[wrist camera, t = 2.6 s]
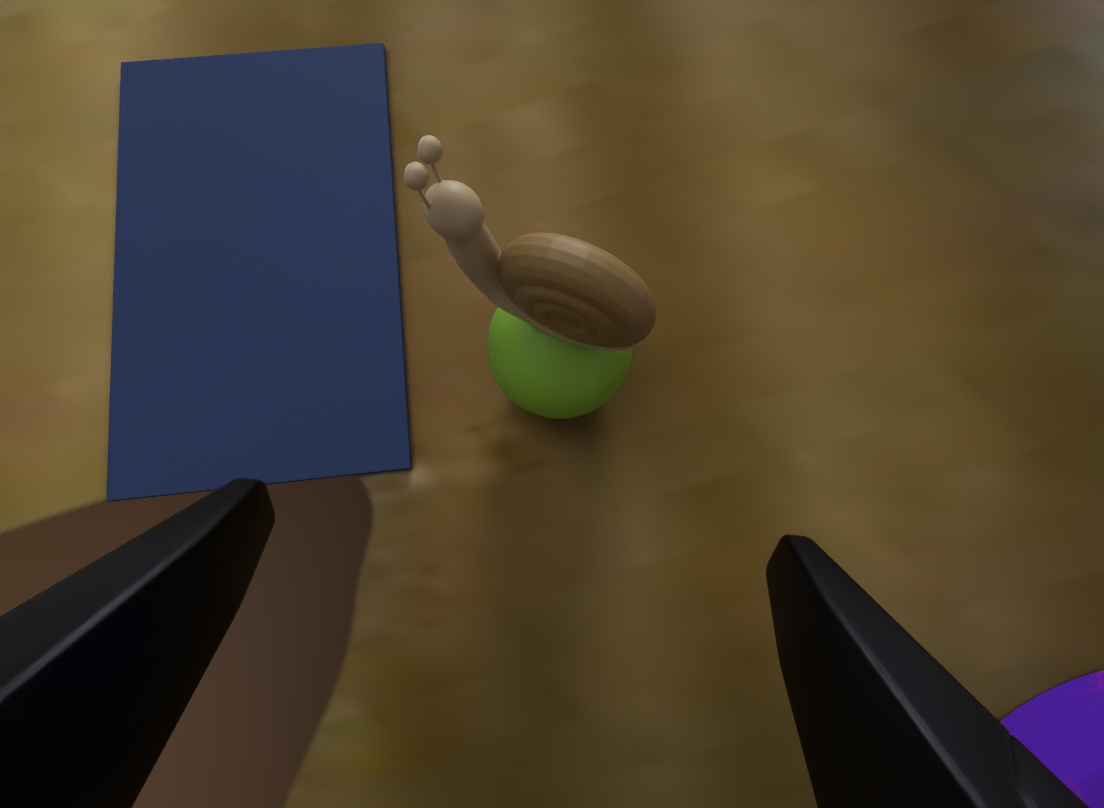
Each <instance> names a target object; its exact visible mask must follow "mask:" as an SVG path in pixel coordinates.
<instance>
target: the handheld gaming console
mask: <svg viewBox="0 0 1104 808" xmlns="http://www.w3.org/2000/svg"><path fill="white" fill-rule="evenodd" d="M1000 723H1001V724H1002V725H1004V726H1005V727H1006V728H1007V729H1008V731H1009V735H1013V736H1015V737H1016V738H1017V739H1018V740H1019V741H1020V742H1021V743H1022V744H1023V745H1024V746H1025V747H1026V748H1027V749H1028V750H1029V751H1031V752H1032V753H1033V754H1034V755H1035V756H1036V757H1037V758H1038V759H1039V760H1040V761H1041V762H1042V763H1043V764H1044V765H1045V766H1046V767H1047V768H1048V769H1049V770H1050V771H1051V772H1052V773H1053V774H1055V775H1056V776H1057V777H1058V778H1059V779H1060V780H1061V781H1062V782H1063V783H1064V784H1065V785H1066V786H1067V787H1068V788H1069V789H1070V790H1071V791H1073V792H1074V793H1075V794H1076V795H1077V796H1078V797H1079V798H1080V799H1081V800H1082V801H1083V802H1084V803H1085V804H1086V805H1087V806H1089V807H1090V808H1104V671H1098V672H1095V673H1092V674H1088V675H1085V676H1082V677H1079V678H1076V679H1073V680H1071V681H1068V682H1066V683H1063V684H1061V685H1059V686H1057V687H1055V688H1052V689H1050V690H1048V691H1046V692H1044V693H1042V694H1040V695H1038V696H1037V697H1035V698H1033V699H1032V700H1030V701H1028V702H1026V703H1025V704H1023V705H1021V706H1020V707H1019V708H1017V709H1016V710H1015V711H1013V712H1012V713H1010V714H1009V715H1008V716H1006V717H1005V718H1004V719H1003V720H1002V721H1000Z"/></svg>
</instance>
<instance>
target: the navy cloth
mask: <svg viewBox="0 0 1104 808" xmlns="http://www.w3.org/2000/svg"><path fill="white" fill-rule="evenodd" d="M404 469H412V459H411V444H410V428H409V413H408V397H407V382H406V367H405V351H404V336H403V320H402V305H401V289H400V274H399V258H398V243H397V227H396V212H395V196H394V181H393V165H392V150H391V135H390V119H389V104H388V88H387V73H386V57H385V47H384V44H383V43H375V44H362V45H349V46H335V47H322V48H309V49H295V50H282V51H269V52H255V53H242V54H229V55H215V56H202V57H189V58H175V59H162V60H149V61H135V62H122V63H121V81H120V111H119V141H118V171H117V201H116V231H115V261H114V291H113V321H112V351H111V381H110V411H109V441H108V470H107V501H120V500H129V499H137V498H147V497H156V496H165V495H174V494H184V493H192V492H202V491H211V490H217V489H219V488H220V487H222V486H224V485H226V484H227V483H229V482H231V481H233V480H235V479H237V478H248V479H257V480H261V481H263V482H264V483H265V484H275V483H285V482H294V481H303V480H312V479H322V478H331V477H340V476H348V475H358V474H367V473H377V472H386V471H395V470H404Z"/></svg>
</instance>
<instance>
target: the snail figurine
mask: <svg viewBox="0 0 1104 808" xmlns="http://www.w3.org/2000/svg"><path fill="white" fill-rule="evenodd" d="M417 153H418V156H419V158H420V159H421V160H422V161H423V162H425V163H427V164H431V165H432V168H433V171H434V173H435V175H436V178H437V179H438V183H436V184H434V185H433V186H431V187H430V188H429V189H428V191H427V192H426V194H425V196H424V194H423V192H422V189H424V188H425V187H426V186H427V185H428V183H429V172H428V170H427V169H426V167H425V166H424V165H422V164H421V163H418V162H413V163H410V164H409V165H408V166H407V167H406V169H405V172H404V182H405V184H406V185H407V186H408V187H409V188H410V189H412V190H416V191H419V193H420V195H421V197H422V199H423V206H424V212H425V216H426V219H427V221H428V223H429V224H430V226H431V227H432V228H433V229H434V230H435V231H436V232H437V233H438V234H440V235H441V236H442V237H443V238H444V239H445V241H446V243H447V245H448V248H449V250H450V252H451V254H452V255H453V257H454V259H455V260H456V262H457V263H458V265H459V266H460V268H461V269H462V270H463V272H464V273H465V274H466V275H467V277H468V278H469V279H470V280H471V281H472V282H473V283H474V284H475V285H476V286H477V288H478V289H479V290H481V291H482V292H483V293H484V294H485V295H486V296H487V297H488V298H489V299H490V300H491V301H492V302H493V303H494V304H496V305H497V306H498V308H497V310H496V312H495V314H494V316H493V318H492V321H491V324H490V328H489V332H488V340H487V351H488V359H489V363H490V367H491V370H492V373H493V375H494V377H495V379H496V381H497V383H498V385H499V386H500V388H501V389H502V390H503V392H504V393H505V394H506V395H507V396H508V397H509V398H510V399H511V400H512V401H513V402H514V403H516V404H517V405H518V406H520V407H521V408H523V409H525V410H527V411H529V412H531V413H533V414H536V415H539V416H542V417H547V418H556V419H564V418H573V417H577V416H581V415H584V414H587V413H589V412H591V411H593V410H595V409H597V408H598V407H600V406H602V405H603V404H604V403H606V402H607V401H608V400H609V399H610V398H611V397H612V396H613V395H614V394H615V393H616V392H617V390H618V389H619V388H620V386H621V384H622V383H623V381H624V379H625V377H626V375H627V373H628V370H629V367H630V364H631V359H632V352H633V349H634V348H637V347H638V346H640V345H641V341H642V340H644V339H645V338H646V337H647V336H648V335H649V333H650V332H651V330H652V328H653V326H654V324H655V319H656V307H655V303H654V300H653V297H652V294H651V292H650V291H649V289H648V287H647V286H646V284H645V283H644V282H643V281H642V279H641V278H640V277H639V276H638V275H637V274H636V273H635V272H634V271H633V270H632V269H630V268H629V267H628V266H627V265H626V264H624V263H623V262H622V261H620V260H619V259H617V258H616V257H614V256H613V255H611V254H610V253H608V252H606V251H604V250H602V249H600V248H598V247H596V246H594V245H592V244H590V243H587V242H585V241H582V240H579V239H576V238H573V237H569V236H566V235H561V234H555V233H529V234H524V235H522V236H520V237H518V238H516V239H514V240H512V241H511V242H509V243H508V244H507V246H506V247H505V248H504V250H503V251H502V253H501V251H500V249H499V247H498V245H497V243H496V241H495V240H494V238H493V236H492V235H491V233H490V232H489V230H488V229H487V227H486V225H485V224H484V222H483V221H484V210H483V206H482V203H481V201H480V199H479V197H478V196H477V195H476V193H475V192H474V191H473V190H472V189H471V188H469V187H468V186H466V185H465V184H463V183H460V182H457V181H451V180H448V181H444V180H443V179H442V178H441V177H440V175H439V173H438V171H437V169H436V167H435V164H434V163H437V162H438V161H439V160H440V159H441V157H442V153H443V149H442V145H441V143H440V142H439V140H438V139H437V138H435V137H434V136H431V135H427V136H424V137H422V139H421V140H420V142H419V144H418V148H417Z"/></svg>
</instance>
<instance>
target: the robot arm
mask: <svg viewBox="0 0 1104 808" xmlns="http://www.w3.org/2000/svg"><path fill="white" fill-rule="evenodd" d="M274 521H275V512H274V508H273V505H272V502H271V499H270V496H269V493H268V490H267V487H266V484H265V483H264V482H263V481H261V480H257V479H248V478H237V479H235V480H233V481H231V482H229V483H227V484H226V485H224V486H222V487H220V488H219V489H217V490H215V491H214V492H212V493H210V494H208V495H207V496H205V497H204V498H202V499H200V500H198V501H197V502H195V503H193V504H191V505H190V506H188V507H186V508H185V509H183V510H181V511H180V512H178V513H176V514H174V515H173V516H171V517H169V518H168V519H166V520H164V521H163V522H161V523H159V524H157V525H156V526H154V527H152V528H150V529H149V530H147V531H145V532H144V533H142V534H140V535H138V536H137V537H135V538H133V539H132V540H130V541H128V542H127V543H125V544H123V545H121V546H120V547H118V548H116V549H115V550H113V551H111V552H109V553H108V554H106V555H104V556H103V557H101V558H99V559H98V560H96V561H94V562H92V563H91V564H89V565H87V566H86V567H84V568H82V569H81V570H79V571H77V572H75V573H74V574H72V575H70V576H68V577H67V578H65V579H63V580H62V581H60V582H58V583H57V584H55V585H53V586H51V587H50V588H48V589H46V590H45V591H43V592H41V593H40V594H38V595H36V596H34V597H33V598H31V599H29V600H28V601H26V602H24V603H23V604H21V605H19V606H17V607H16V608H14V609H12V610H10V611H9V612H7V613H5V614H4V615H2V616H0V808H132V806H133V804H134V802H135V801H136V799H137V797H138V795H139V793H140V791H141V789H142V787H143V786H144V784H145V782H146V780H147V778H148V777H149V774H150V773H151V771H152V769H153V767H154V765H155V763H156V762H157V760H158V758H159V756H160V754H161V752H162V750H163V749H164V747H165V745H166V743H167V741H168V739H169V738H170V736H171V734H172V732H173V730H174V728H175V727H176V725H177V723H178V721H179V719H180V717H181V715H182V713H183V712H184V710H185V708H186V706H187V704H188V702H189V701H190V699H191V697H192V695H193V693H194V691H195V689H196V688H197V686H198V684H199V682H200V680H201V678H202V677H203V675H204V673H205V671H206V669H207V667H208V665H209V664H210V662H211V660H212V658H213V656H214V654H215V652H216V651H217V649H218V647H219V645H220V643H221V641H222V639H223V638H224V636H225V634H226V632H227V630H228V628H229V626H230V625H231V623H232V621H233V619H234V617H235V615H236V613H237V611H238V609H239V607H240V605H241V603H242V601H243V598H244V596H245V594H246V591H247V588H248V587H249V584H250V582H251V579H252V576H253V574H254V572H255V569H256V567H257V564H258V562H259V560H260V557H261V555H262V552H263V550H264V548H265V545H266V542H267V540H268V538H269V535H270V533H271V530H272V528H273V525H274ZM766 578H767V585H768V591H769V598H770V604H771V611H772V617H773V624H774V630H775V637H776V644H777V650H778V655H779V661H780V666H781V670H782V674H783V678H784V682H785V686H786V689H787V693H788V697H789V701H790V704H791V708H792V712H793V716H794V720H795V723H796V727H797V731H798V735H799V738H800V742H801V746H802V750H803V753H804V757H805V761H806V765H807V769H808V772H809V776H810V780H811V784H812V787H813V791H814V795H815V799H816V803H817V806H818V808H1090V807H1089V806H1087V805H1086V804H1085V803H1084V802H1083V801H1082V800H1081V799H1080V798H1079V797H1078V796H1077V795H1076V794H1075V793H1074V792H1073V791H1071V790H1070V789H1069V788H1068V787H1067V786H1066V785H1065V784H1064V783H1063V782H1062V781H1061V780H1060V779H1059V778H1058V777H1057V776H1056V775H1055V774H1053V773H1052V772H1051V771H1050V770H1049V769H1048V768H1047V767H1046V766H1045V765H1044V764H1043V763H1042V762H1041V761H1040V760H1039V759H1038V758H1037V757H1036V756H1035V755H1034V754H1033V753H1032V752H1031V751H1029V750H1028V749H1027V748H1026V747H1025V746H1024V745H1023V744H1022V743H1021V742H1020V741H1019V740H1018V739H1017V738H1016V737H1015V736H1013V735H1009V731H1008V729H1007V728H1006V727H1005V726H1004V725H1002V724H1001V723H1000V722H999V721H998V720H997V719H996V718H995V717H994V716H993V715H992V714H991V713H990V712H989V711H988V710H987V709H986V708H985V707H984V706H983V705H982V704H981V703H980V702H979V701H978V700H977V699H976V698H975V697H974V696H973V695H972V694H971V693H970V692H969V691H967V690H966V689H965V688H964V687H963V686H962V685H961V684H960V683H959V682H958V681H957V680H956V679H955V678H954V677H953V676H952V675H951V674H950V673H949V672H948V671H947V670H946V669H945V668H944V667H943V666H942V665H941V664H940V663H939V662H938V661H937V660H936V659H935V658H934V657H932V656H931V655H930V654H929V653H928V652H927V651H926V650H925V649H924V648H923V647H922V646H921V645H920V644H919V643H918V642H917V641H916V640H915V639H914V638H913V637H912V636H911V635H910V634H909V633H908V632H907V631H906V630H905V629H904V628H903V627H902V626H901V625H900V624H899V623H897V622H896V621H895V620H894V619H893V618H892V617H891V616H890V615H889V614H888V613H887V612H886V611H885V610H884V609H883V608H882V607H881V606H880V605H879V604H878V603H877V602H876V601H875V600H874V599H873V598H872V597H871V596H870V595H869V594H868V593H867V592H866V591H865V590H864V589H862V588H861V587H860V586H859V585H858V584H857V583H856V582H855V581H854V580H853V579H852V578H851V577H850V576H849V575H848V574H847V573H846V572H845V571H844V570H843V569H842V568H841V567H840V566H839V565H838V564H837V563H836V562H835V561H834V560H833V559H832V558H831V557H830V556H829V555H827V554H826V553H825V552H824V551H823V550H822V549H821V548H820V547H819V546H818V545H817V544H816V543H815V542H814V541H813V540H812V539H810V538H809V537H806V536H798V535H784V536H783V537H781V539H780V541H779V542H778V544H777V546H776V548H775V550H774V552H773V554H772V556H771V558H770V560H769V562H768V564H767V569H766Z"/></svg>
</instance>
